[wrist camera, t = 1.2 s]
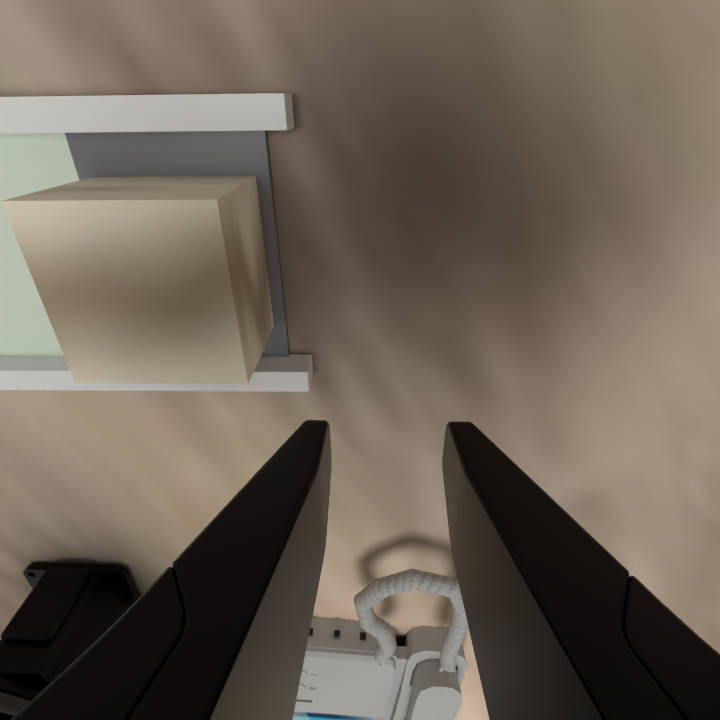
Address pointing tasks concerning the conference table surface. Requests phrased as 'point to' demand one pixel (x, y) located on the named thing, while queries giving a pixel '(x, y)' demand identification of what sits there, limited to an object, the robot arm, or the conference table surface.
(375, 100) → the conference table surface
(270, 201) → the trap lane
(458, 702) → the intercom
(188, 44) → the conference table surface
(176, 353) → the birch block
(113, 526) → the conference table surface
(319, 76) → the conference table surface
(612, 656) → the robot arm
